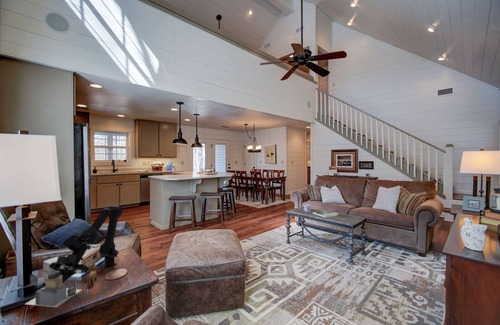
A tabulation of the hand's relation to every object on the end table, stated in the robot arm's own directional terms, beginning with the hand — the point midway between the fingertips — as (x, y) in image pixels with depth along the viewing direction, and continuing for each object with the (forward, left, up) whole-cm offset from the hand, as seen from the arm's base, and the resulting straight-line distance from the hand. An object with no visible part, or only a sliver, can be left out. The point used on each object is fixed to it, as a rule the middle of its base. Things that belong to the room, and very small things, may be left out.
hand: (58, 285), depth 112 cm
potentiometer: (+3, +5, -6) cm, 8 cm away
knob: (+1, -2, -5) cm, 6 cm away
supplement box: (-21, +5, -7) cm, 23 cm away
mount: (-1, -1, -7) cm, 7 cm away
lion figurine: (-2, +16, -7) cm, 17 cm away
